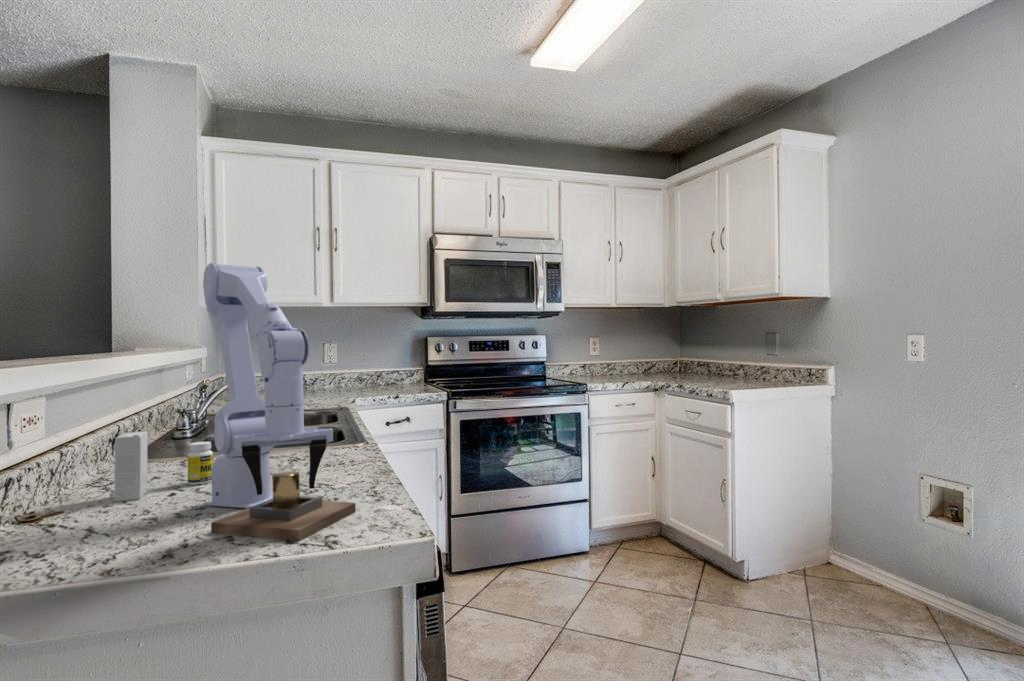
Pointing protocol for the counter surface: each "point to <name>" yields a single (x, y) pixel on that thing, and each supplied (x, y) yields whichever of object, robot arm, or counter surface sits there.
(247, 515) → the jig plate
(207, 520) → the counter surface
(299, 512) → the frame
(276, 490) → the brass cylinder
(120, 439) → the skincare box
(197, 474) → the supplement bottle
